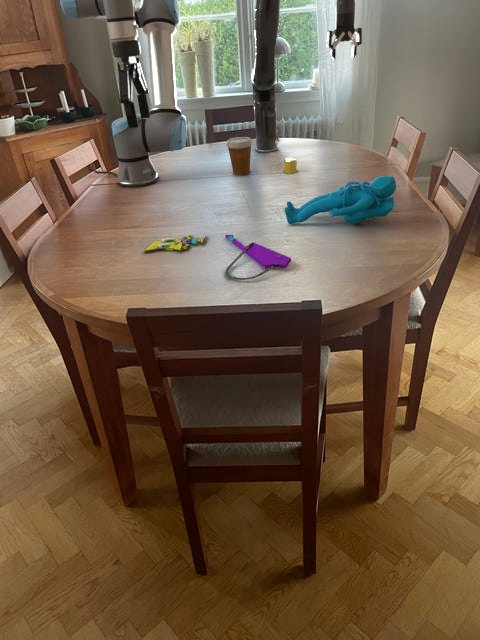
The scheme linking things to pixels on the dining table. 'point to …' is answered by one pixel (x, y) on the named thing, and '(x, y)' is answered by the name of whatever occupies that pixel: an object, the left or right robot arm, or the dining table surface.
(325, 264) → the dining table surface
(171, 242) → the toy
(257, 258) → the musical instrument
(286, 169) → the canister
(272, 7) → the right robot arm
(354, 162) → the dining table surface
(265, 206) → the dining table surface
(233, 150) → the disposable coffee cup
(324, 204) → the toy
